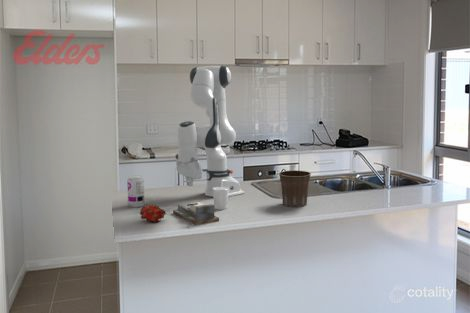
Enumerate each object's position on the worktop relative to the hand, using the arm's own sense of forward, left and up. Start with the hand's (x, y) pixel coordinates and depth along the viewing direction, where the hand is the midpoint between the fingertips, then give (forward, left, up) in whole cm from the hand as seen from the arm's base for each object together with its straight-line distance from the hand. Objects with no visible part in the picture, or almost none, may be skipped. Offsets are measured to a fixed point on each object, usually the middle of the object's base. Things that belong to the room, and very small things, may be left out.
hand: (189, 185), depth 222 cm
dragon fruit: (+20, +2, -14) cm, 24 cm away
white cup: (-17, -2, -14) cm, 22 cm away
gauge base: (0, +6, -14) cm, 15 cm away
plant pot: (-52, +12, -14) cm, 56 cm away
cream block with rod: (+2, +9, -12) cm, 15 cm away
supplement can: (+16, -30, -14) cm, 37 cm away
